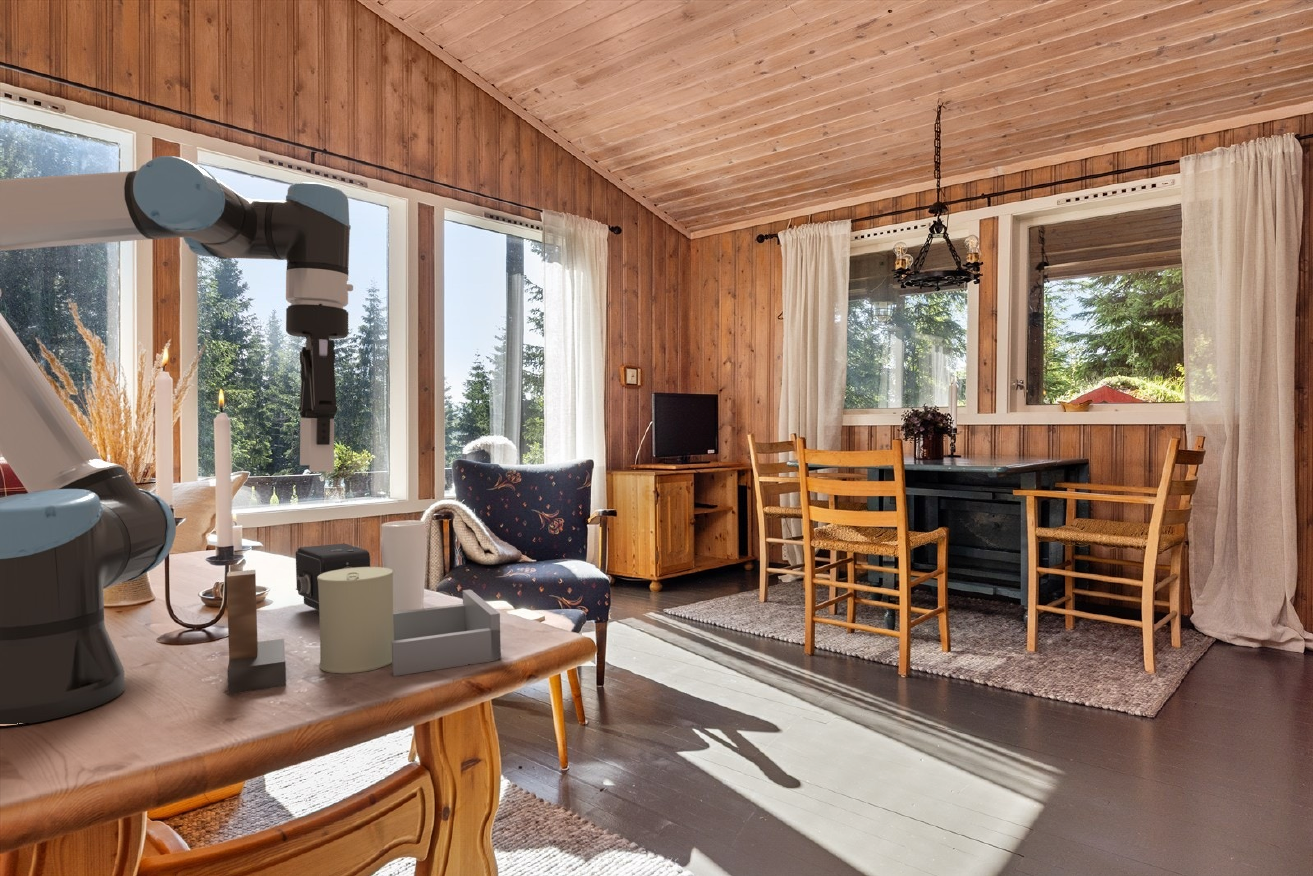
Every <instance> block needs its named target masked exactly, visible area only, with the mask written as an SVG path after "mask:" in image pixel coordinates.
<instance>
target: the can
mask: <svg viewBox="0 0 1313 876" xmlns="http://www.w3.org/2000/svg"><path fill="white" fill-rule="evenodd" d="M317 579H318V590H319V611H318V614H319V615H318V616H319V642H320V647H319V648H320V649H319V650H320V651H319V654H320V655H319V656H320V657H319V659H320V660H319V670H321V671H323V672H325V673H331V674H339V675H340V674H341V675H344V674H356V673H364V672H370V671H374V670H378V669H381V668H384V667H386V666H389V665H390V664H391V665H392V641H394V627H393V570H392V569H389V568H384V567H383V566H370V567H356V568H346V569H339V570H333V571H329V572H325V573H322V574H320V575H319V576H318V577H317Z"/></svg>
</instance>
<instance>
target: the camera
mask: <svg viewBox="0 0 1313 876" xmlns="http://www.w3.org/2000/svg"><path fill="white" fill-rule="evenodd" d="M356 567H371V557H370V552H369V550H367V549H364V548H361V547H360V546H359V545H351V544H349V543H334V544H324V545H322V544H321V545H313V546H301V547H298V549H297V550H296V551H295V574H296V575H295V576H296V579H295V581H296V588H295V590H296V591H297V593H298V596H301V597H303V604H304V605H307V607H310V608H312V609H314V610H316V611H317V612H319V590H318V579H317V577H318V576H319V575H320V574H322V573H325V572H329V571H333V570H339V569H346V568H356Z"/></svg>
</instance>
